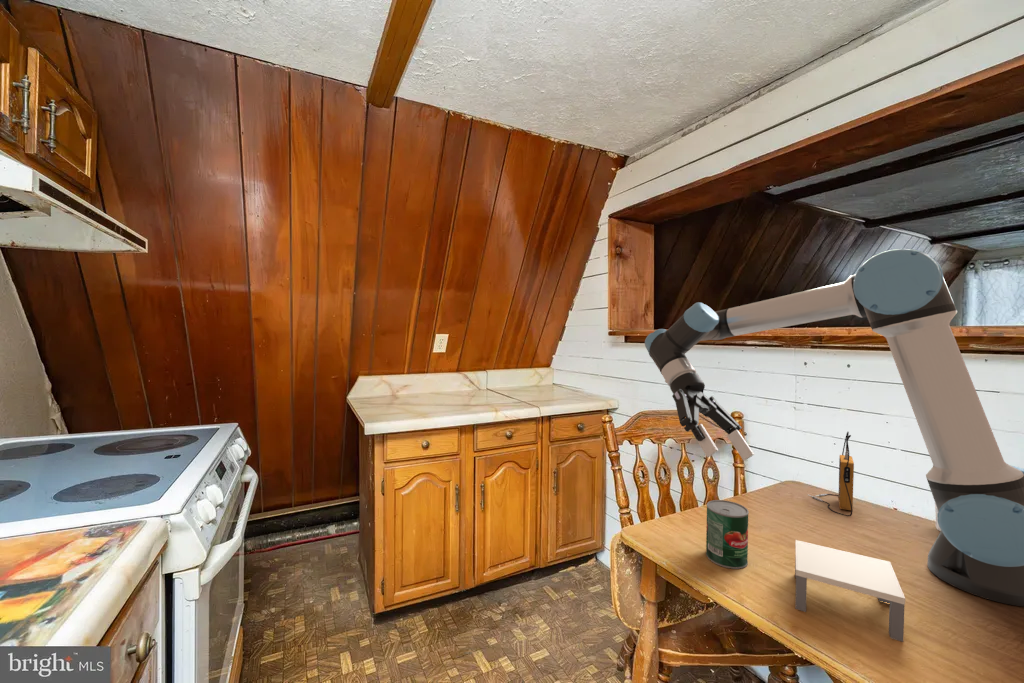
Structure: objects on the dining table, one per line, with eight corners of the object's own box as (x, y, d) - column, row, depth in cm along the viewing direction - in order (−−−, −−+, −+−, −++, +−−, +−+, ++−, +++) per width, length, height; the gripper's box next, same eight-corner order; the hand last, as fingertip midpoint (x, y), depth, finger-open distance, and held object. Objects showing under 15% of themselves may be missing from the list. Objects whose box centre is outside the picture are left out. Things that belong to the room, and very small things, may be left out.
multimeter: (806, 490, 125) (808, 423, 124) (850, 498, 119) (851, 428, 118) (806, 507, 113) (807, 434, 112) (854, 517, 107) (856, 440, 106)
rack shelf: (888, 599, 75) (890, 561, 75) (903, 642, 65) (905, 598, 65) (794, 574, 83) (795, 539, 83) (795, 608, 73) (796, 569, 73)
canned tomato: (711, 544, 94) (712, 496, 94) (751, 556, 89) (752, 506, 89) (701, 560, 88) (702, 508, 88) (743, 574, 83) (744, 519, 83)
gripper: (702, 395, 114) (749, 467, 100) (639, 382, 101) (682, 461, 87) (723, 378, 110) (776, 450, 96) (660, 362, 97) (709, 441, 83)
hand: (731, 455), depth 91 cm, fingers open, 13 cm apart
